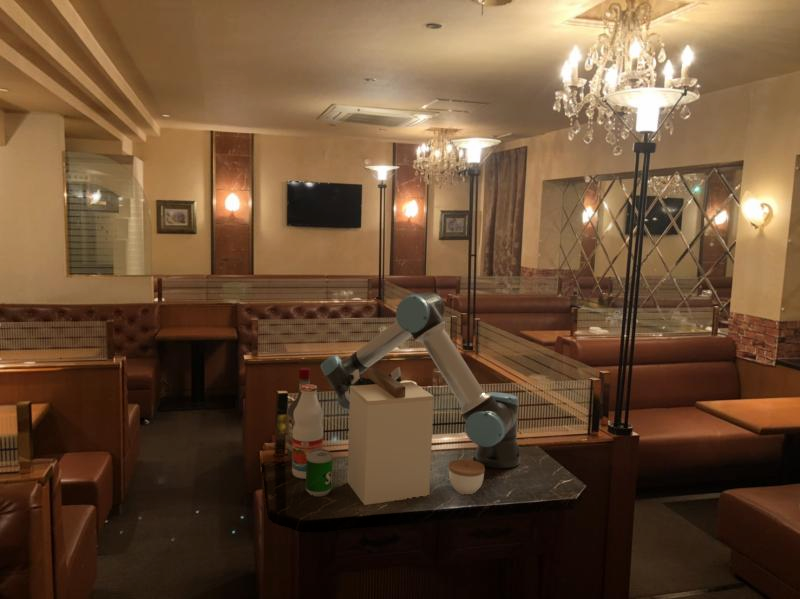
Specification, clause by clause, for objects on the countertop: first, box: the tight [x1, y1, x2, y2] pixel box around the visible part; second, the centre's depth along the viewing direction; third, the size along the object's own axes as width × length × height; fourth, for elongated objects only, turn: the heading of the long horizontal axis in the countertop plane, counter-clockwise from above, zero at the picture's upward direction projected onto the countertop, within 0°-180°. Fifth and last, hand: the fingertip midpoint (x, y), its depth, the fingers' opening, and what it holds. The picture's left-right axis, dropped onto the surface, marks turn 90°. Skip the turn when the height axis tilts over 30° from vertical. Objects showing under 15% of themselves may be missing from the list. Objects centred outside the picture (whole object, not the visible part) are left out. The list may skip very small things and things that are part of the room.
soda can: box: [305, 448, 334, 497], centre depth 180 cm, size 8×8×12 cm
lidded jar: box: [448, 458, 486, 495], centre depth 185 cm, size 11×11×9 cm
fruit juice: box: [291, 383, 324, 480], centre depth 192 cm, size 9×9×28 cm
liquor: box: [286, 367, 311, 460], centre depth 205 cm, size 9×9×30 cm
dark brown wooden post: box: [366, 366, 406, 398], centre depth 185 cm, size 3×24×3 cm, turn 22°
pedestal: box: [346, 381, 435, 506], centre depth 182 cm, size 20×16×30 cm
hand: (379, 372), depth 190 cm, fingers open, 13 cm apart
